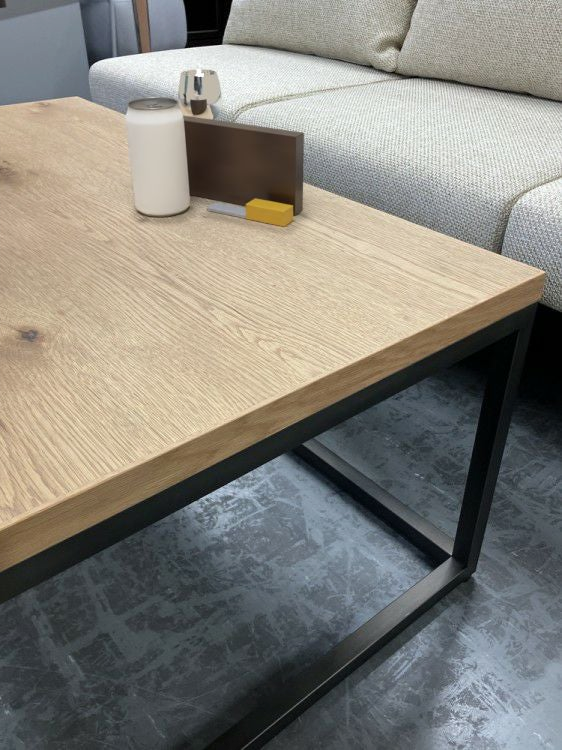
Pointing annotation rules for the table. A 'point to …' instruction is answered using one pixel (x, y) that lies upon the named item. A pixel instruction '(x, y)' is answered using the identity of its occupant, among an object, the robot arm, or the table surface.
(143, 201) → the can
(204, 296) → the table surface
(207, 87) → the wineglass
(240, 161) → the backboard
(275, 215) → the knife
